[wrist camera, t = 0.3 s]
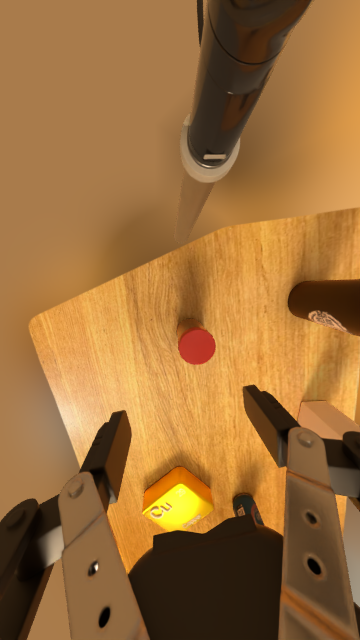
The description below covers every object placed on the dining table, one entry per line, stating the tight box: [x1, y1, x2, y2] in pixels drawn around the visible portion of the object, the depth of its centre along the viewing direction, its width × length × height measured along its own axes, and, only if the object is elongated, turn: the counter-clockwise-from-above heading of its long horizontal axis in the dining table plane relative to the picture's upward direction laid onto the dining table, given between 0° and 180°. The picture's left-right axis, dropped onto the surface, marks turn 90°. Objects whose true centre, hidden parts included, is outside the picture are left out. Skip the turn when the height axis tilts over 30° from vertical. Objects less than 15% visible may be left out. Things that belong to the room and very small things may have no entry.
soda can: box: [233, 494, 264, 526], centre depth 47 cm, size 7×7×12 cm
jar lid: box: [178, 327, 216, 365], centre depth 31 cm, size 6×6×2 cm
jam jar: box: [177, 319, 204, 341], centre depth 35 cm, size 6×6×10 cm
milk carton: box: [298, 401, 360, 440], centre depth 38 cm, size 7×7×19 cm
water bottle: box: [288, 279, 360, 336], centre depth 29 cm, size 10×10×23 cm
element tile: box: [142, 467, 214, 532], centre depth 48 cm, size 15×15×5 cm
